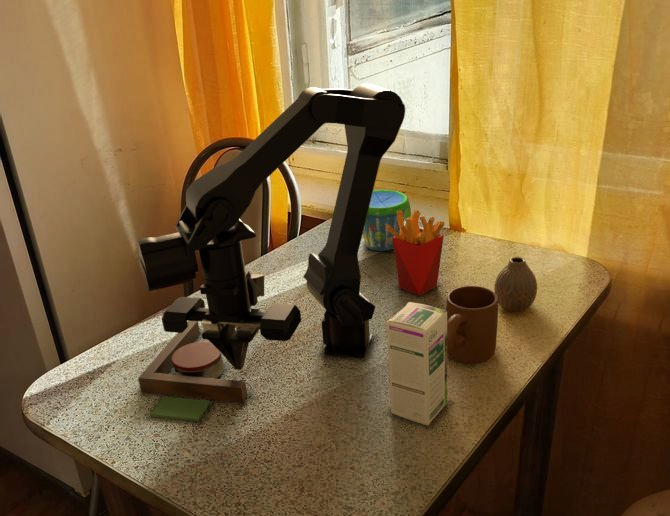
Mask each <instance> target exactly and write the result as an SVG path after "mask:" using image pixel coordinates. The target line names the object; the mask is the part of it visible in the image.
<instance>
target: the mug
mask: <svg viewBox="0 0 670 516" xmlns="http://www.w3.org/2000/svg"><path fill="white" fill-rule="evenodd" d="M445 301H446V302H445V311H447V356H449V357H450V358H451V359H453V360H454V361H456V362H459V363H462V364H472V365H473V364H481V363H484V362H486V361H489V360H490V359H492V357H493V356H494V355H495V352H496V348H497V335H498V321H499V304H498V297H497V295H496V294H495V291H493V290H492V289H490V288H487V287H484V286H480V285H479V286H478V285H462V286H459V287H455V288H452V289H451V290H450V291H449V292H448V293H447V295H446V300H445Z"/></svg>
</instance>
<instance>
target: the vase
mask: <svg viewBox="0 0 670 516" xmlns="http://www.w3.org/2000/svg"><path fill="white" fill-rule="evenodd" d="M493 290H494V291H493V292H494V293H495V294H496V295H497V297H498V306H499V307H501V309H503V310H504V311H506V312H509V313H514V314H515V313H523V312H525V311H526V310H528V309H529V308H531V306H532V305H533V304H534V302H535V300H536V297H537V293H538V282H537V278H536V275H535V274H534V272H533V271H532V269H531V268H530V267H529V265H528V263H527V261H526V259H525V258H523V257H520V256H519V257H518V256H515V257H511V258H510V259H509V261H508V263H507V264H506V265H504V267H503V268H501V270H500V271H499V273H498V274H497V276H496V278H495V281H494V289H493Z"/></svg>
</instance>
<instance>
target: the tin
mask: <svg viewBox="0 0 670 516" xmlns="http://www.w3.org/2000/svg"><path fill="white" fill-rule="evenodd" d="M222 356H223V354H222V353H221V352H220V351H219V350H218V349H217V348H216V347H215V346H214V345H213V344H212V343H211V342H210V341H194V342H193V343H190V344H187V345H184V346H182V347H181V348H179V349H178V350H176V351H175V352H174V354H173V356H172V362H173V365H174V366H173V369H174V375H183V376H193V377H204V378H214V379H219V377H221V376H222V374H223V372H224V362H223V357H222Z"/></svg>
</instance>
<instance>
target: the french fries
mask: <svg viewBox="0 0 670 516" xmlns="http://www.w3.org/2000/svg"><path fill="white" fill-rule="evenodd" d="M420 215H421V212H420V210H418V209H414V210H413V212H412V213H411V217H410V218H407V219H404V222H403V212H402V210H399V211H397V219H398V224H399V227H400V234H398V233H397V232H396V231H395V230H393V229H392V228H391V226H390V225H388V224H387V225H386V227H385V228H386V229H387V230H388V231H389V232H390V233H392V234H393V235H394V236H395V237H393V238H392V241H393V248H394V249H393V254H394V261H395V268H396V275H397V281H398V288H399V289H402V290H405V291H407V292H409V293H412V294H415V295H417V296H422V295H423V294H425V293H427V292H429V291H431V290H432V289H434V288H436V287H437V286H438V281H439V273H440V267H441V266H440V265H441V259H442V253H443V244H444V235H443V234H440V233H441V231H442V229H443V228H444V226H445V221H442V220H441V221H437V222H436V223H434V222H435V217H434V216H432V217H429V219H428V222H427V219H426V217H425V215H422V216H420ZM419 222H421V224H422V227H423V228H420V223H419Z"/></svg>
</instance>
